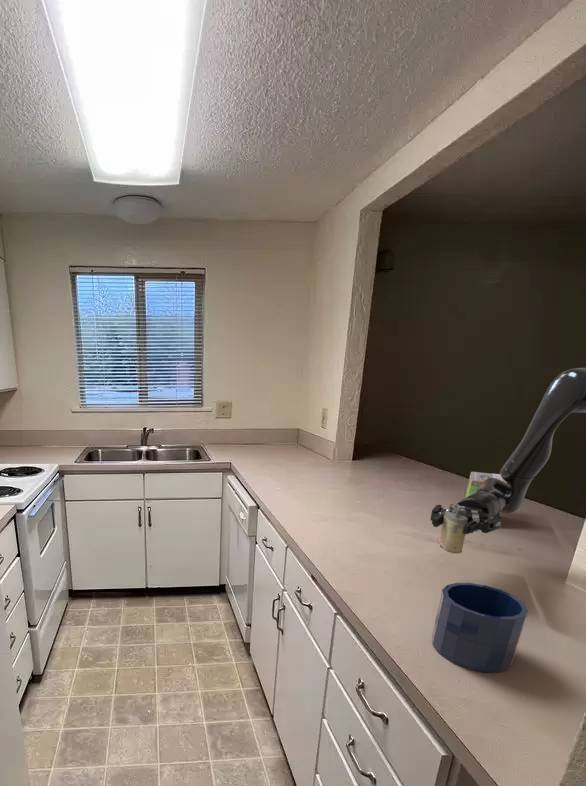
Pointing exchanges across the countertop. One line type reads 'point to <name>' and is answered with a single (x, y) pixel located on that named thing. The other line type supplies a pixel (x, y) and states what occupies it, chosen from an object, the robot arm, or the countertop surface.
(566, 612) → the countertop surface
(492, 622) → the pot
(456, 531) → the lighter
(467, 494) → the tea box
